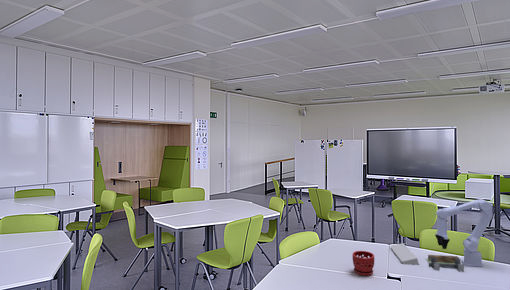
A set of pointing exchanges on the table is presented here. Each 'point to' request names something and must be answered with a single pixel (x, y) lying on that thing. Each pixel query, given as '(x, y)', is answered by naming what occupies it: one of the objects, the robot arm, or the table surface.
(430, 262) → the mat
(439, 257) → the rail
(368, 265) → the plant pot
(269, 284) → the table surface
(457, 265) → the standards
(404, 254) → the decorative molding
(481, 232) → the robot arm
